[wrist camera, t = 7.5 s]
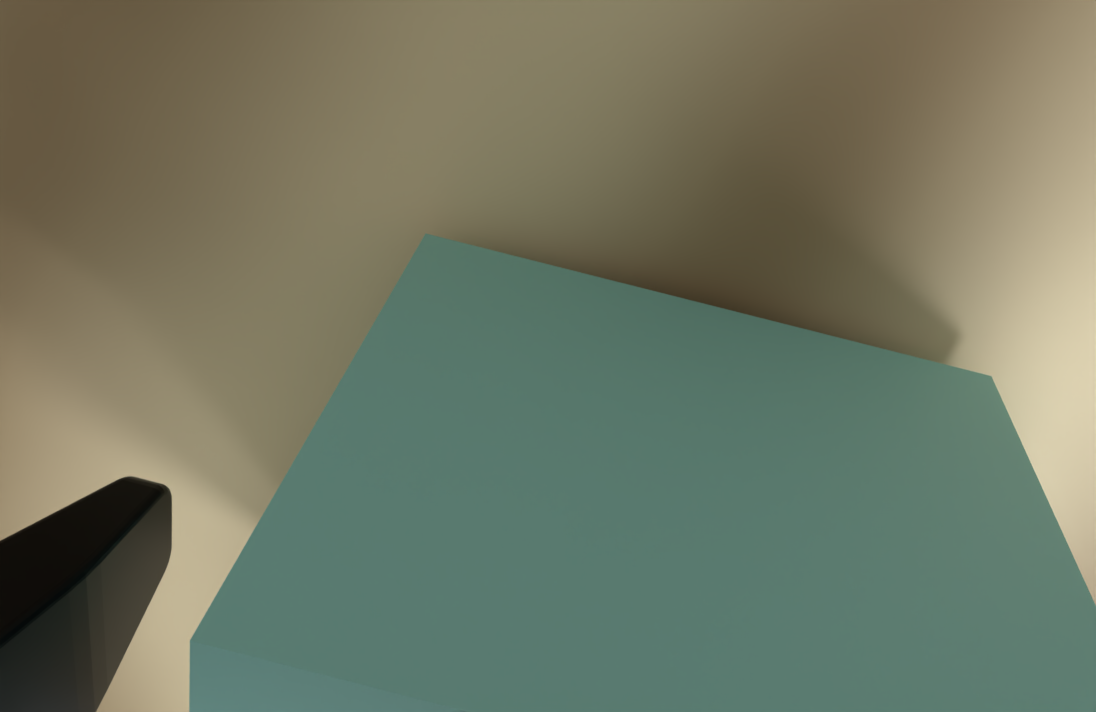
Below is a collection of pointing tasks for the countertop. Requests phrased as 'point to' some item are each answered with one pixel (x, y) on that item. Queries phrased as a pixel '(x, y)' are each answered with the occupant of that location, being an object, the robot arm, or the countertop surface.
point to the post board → (509, 217)
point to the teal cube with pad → (644, 521)
